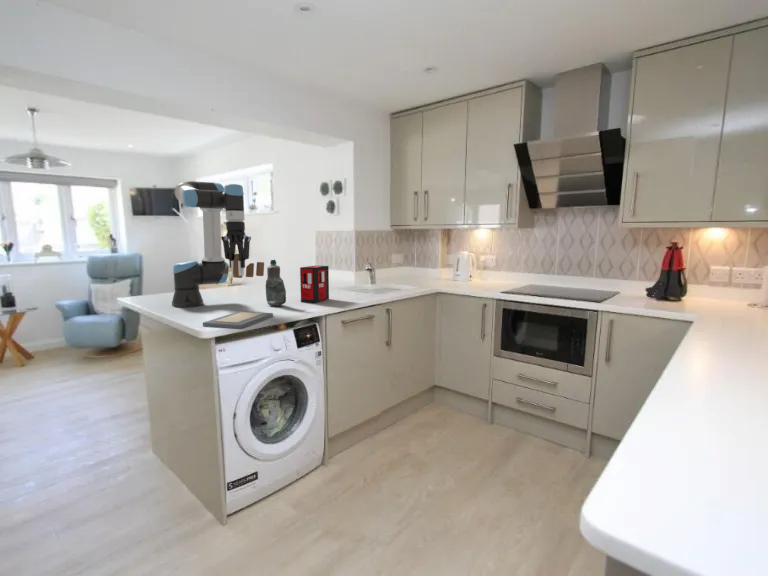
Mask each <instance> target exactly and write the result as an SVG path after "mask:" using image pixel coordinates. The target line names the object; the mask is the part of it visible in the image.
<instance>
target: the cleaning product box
mask: <svg viewBox="0 0 768 576" xmlns="http://www.w3.org/2000/svg"><path fill="white" fill-rule="evenodd" d="M329 270H330V269H329V265H310V266H302V267H300V268H299V278H300V303H306V304H317V303H321V302H325V301H327V299H328V300H329V299H330V284H329V283H330V282H329V281H330V279H329V276H330V275H329ZM324 300H325V301H324Z"/></svg>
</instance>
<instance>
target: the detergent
mask: <svg viewBox="0 0 768 576" xmlns="http://www.w3.org/2000/svg"><path fill="white" fill-rule="evenodd" d="M269 264H270V265H269V266H267V267H266V272H267V275H266V276H267V279H266V281H265V296H266V302H267V305H269V306H278V307H280V306H282V305H284V304H286V302H287V297H286V296H287V291H286V286H285V283H284V279H282V277H281V267H280V265H277V261H276V259H270V263H269Z"/></svg>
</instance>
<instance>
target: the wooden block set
mask: <svg viewBox="0 0 768 576" xmlns="http://www.w3.org/2000/svg"><path fill="white" fill-rule="evenodd" d="M239 259H240V258H239V253H235V254H234V273H233V276H232V277H233V278H235V279H242V278H243V275H242V276H239V269H238V261H239ZM228 268H230V265H228V267H227V268H226V269H225V270H223V271H222V272H221V274H228V275H229V271H228ZM245 268H246V270H245V277H246V278H253V277H254V275H255V276H256V277H264V275H265V273H264V272H265V262H263V261H256V271H255V270H254V269H255V263H254V262H250V263H249V264H247V265H246V266H245ZM254 271H255V273H254Z"/></svg>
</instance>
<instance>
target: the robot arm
mask: <svg viewBox="0 0 768 576" xmlns="http://www.w3.org/2000/svg"><path fill="white" fill-rule="evenodd" d="M173 193H174V194H173V195H174V196H175V198H176V200H177V201H179V202H181V203H182V204H183V206H184V207H186V208H187V207H188V208H199V210H200V211H201V212H202V225H203V226H202V227H203V230H202V231H203V249H204V251H203V252H204V256H203V257H202V259H201V262H198V260H191V261H189V260H188V261H182V262H177V263H175V264H173V269H172V274H173V282H174V283H173V284H174V285H173V286H174V293H173V298H172V301H171V306H172V307H173V306H174V307H173V308H191V307H200V306H203V305H204V298H203V297H202V296H203V295H202V294H201V292H200V285H201V286H203V285H204V286H205V285H218V284H224V283H226V282H227V280H228V277H229V273H228V274H221V272H222V271H223V270H225V269H226V268H227V267H228V266H229V268H231V271H229V270H230V269H229V268H228V272H231V276H232V277H233V273H234V254H236V246H237V252H238V254H239V258H240V259H239V261H238V269H239V276H242V277H243V276H245V272H244V271H245V268H246V260H248V259H250V242H251V240H252V237H251V236H248V235H246V233H245V230H246V226H245V223H246V222H245V202H244V199H245V198H244V188H243V185H241V184H237V183H229V184H225V185H222V183H218V182H209V181H208V182H207V181H192V180H188V181H183V182H180V183H179V184H177V185H176V186H175V188H174V191H173ZM223 210H225V220H226V222H225V227H226V228H225V229H226V234H225V235H224V236H222V231H221V230H222V229H221V228H222V225H221V212H222V211H223ZM222 244H223V251H222ZM222 252H224V257H223V256H222V255H223V254H222ZM225 259H226V260H228V261H229V263H228V262H227V261H225Z"/></svg>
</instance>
